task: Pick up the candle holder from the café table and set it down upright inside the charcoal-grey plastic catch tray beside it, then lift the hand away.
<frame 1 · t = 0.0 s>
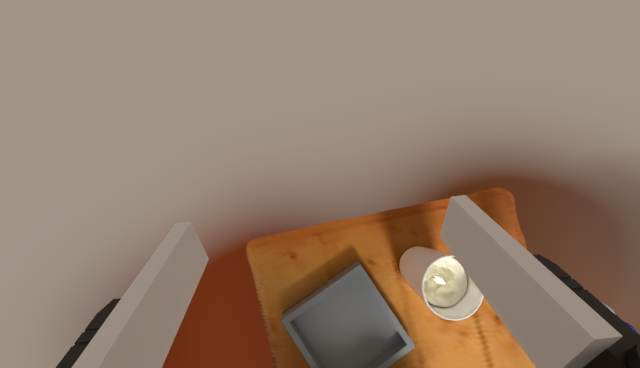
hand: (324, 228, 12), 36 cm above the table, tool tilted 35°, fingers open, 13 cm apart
candle holder: (418, 266, 47), on the table
catch tray: (346, 325, 46), on the table
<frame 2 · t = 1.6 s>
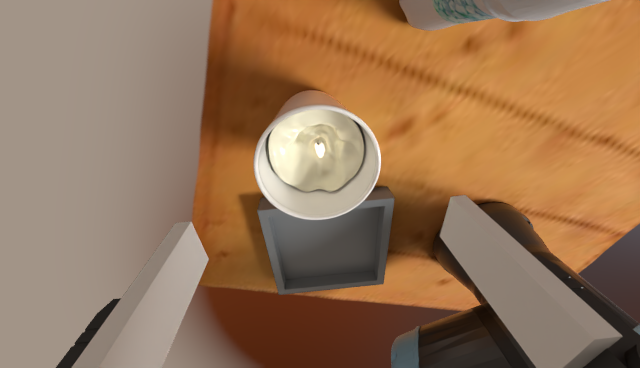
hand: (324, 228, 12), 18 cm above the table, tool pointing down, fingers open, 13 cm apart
candle holder: (312, 125, 28), on the table
catch tray: (327, 238, 38), on the table
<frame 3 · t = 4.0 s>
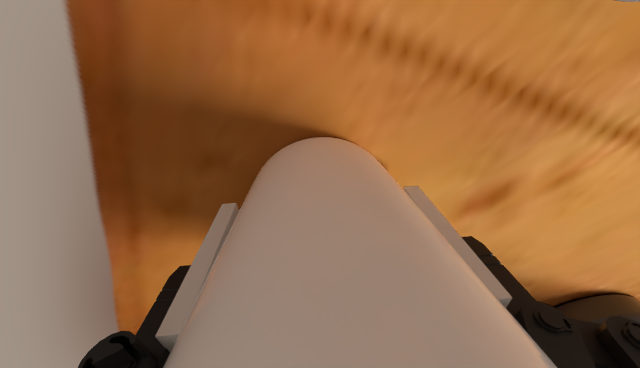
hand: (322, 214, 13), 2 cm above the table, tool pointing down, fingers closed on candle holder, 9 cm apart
candle holder: (320, 197, 14), on the table, touching gripper
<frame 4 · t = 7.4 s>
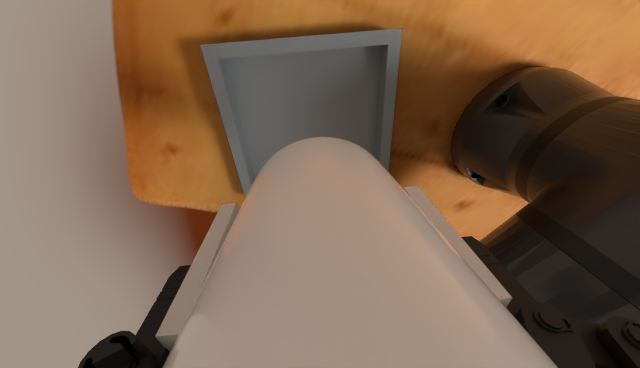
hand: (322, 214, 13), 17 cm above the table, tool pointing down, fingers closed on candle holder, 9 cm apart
candle holder: (320, 197, 14), point 16 cm above the table, touching gripper
catch tray: (310, 126, 28), on the table
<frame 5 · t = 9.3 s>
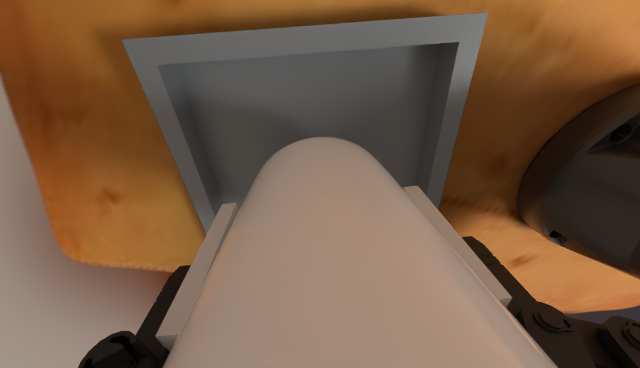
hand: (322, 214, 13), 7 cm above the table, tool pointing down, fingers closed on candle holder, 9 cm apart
candle holder: (320, 197, 14), point 5 cm above the table, touching gripper
catch tray: (317, 164, 19), on the table
when the fingers open (4 cm above the table, at t = 10.8 s): candle holder drops 1 cm, resting on catch tray.
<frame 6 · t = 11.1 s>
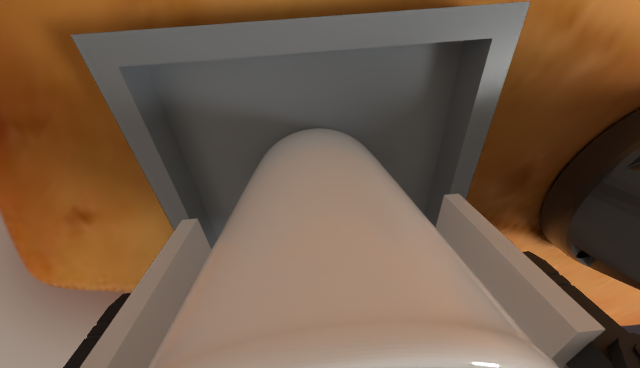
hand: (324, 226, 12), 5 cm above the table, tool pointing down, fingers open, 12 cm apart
candle holder: (317, 185, 16), point 1 cm above the table, touching catch tray
catch tray: (318, 179, 16), on the table
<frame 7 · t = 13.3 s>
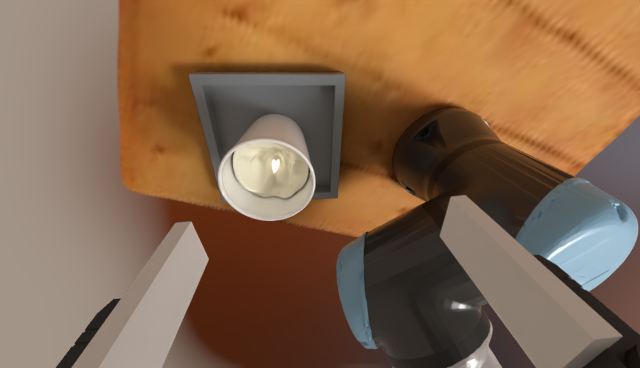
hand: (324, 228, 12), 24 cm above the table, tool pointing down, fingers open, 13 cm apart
candle holder: (276, 141, 34), point 1 cm above the table, touching catch tray
catch tray: (277, 139, 34), on the table
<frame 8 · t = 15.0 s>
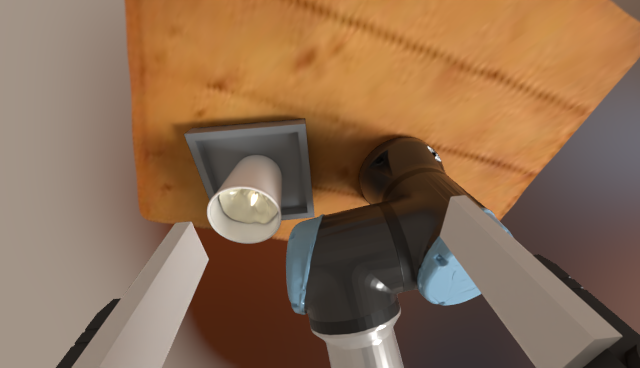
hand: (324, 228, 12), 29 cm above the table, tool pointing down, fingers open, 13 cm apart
candle holder: (259, 174, 41), point 1 cm above the table, touching catch tray
catch tray: (260, 172, 42), on the table
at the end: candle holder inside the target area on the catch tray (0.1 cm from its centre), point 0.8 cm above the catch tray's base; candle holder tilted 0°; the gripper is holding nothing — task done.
